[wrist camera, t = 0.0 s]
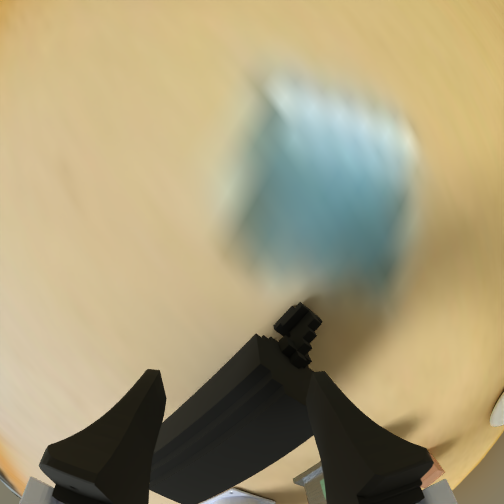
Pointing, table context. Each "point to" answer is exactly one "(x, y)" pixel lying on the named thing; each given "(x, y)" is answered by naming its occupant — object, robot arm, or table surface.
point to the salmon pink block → (432, 473)
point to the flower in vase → (498, 413)
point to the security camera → (239, 416)
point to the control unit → (313, 484)
